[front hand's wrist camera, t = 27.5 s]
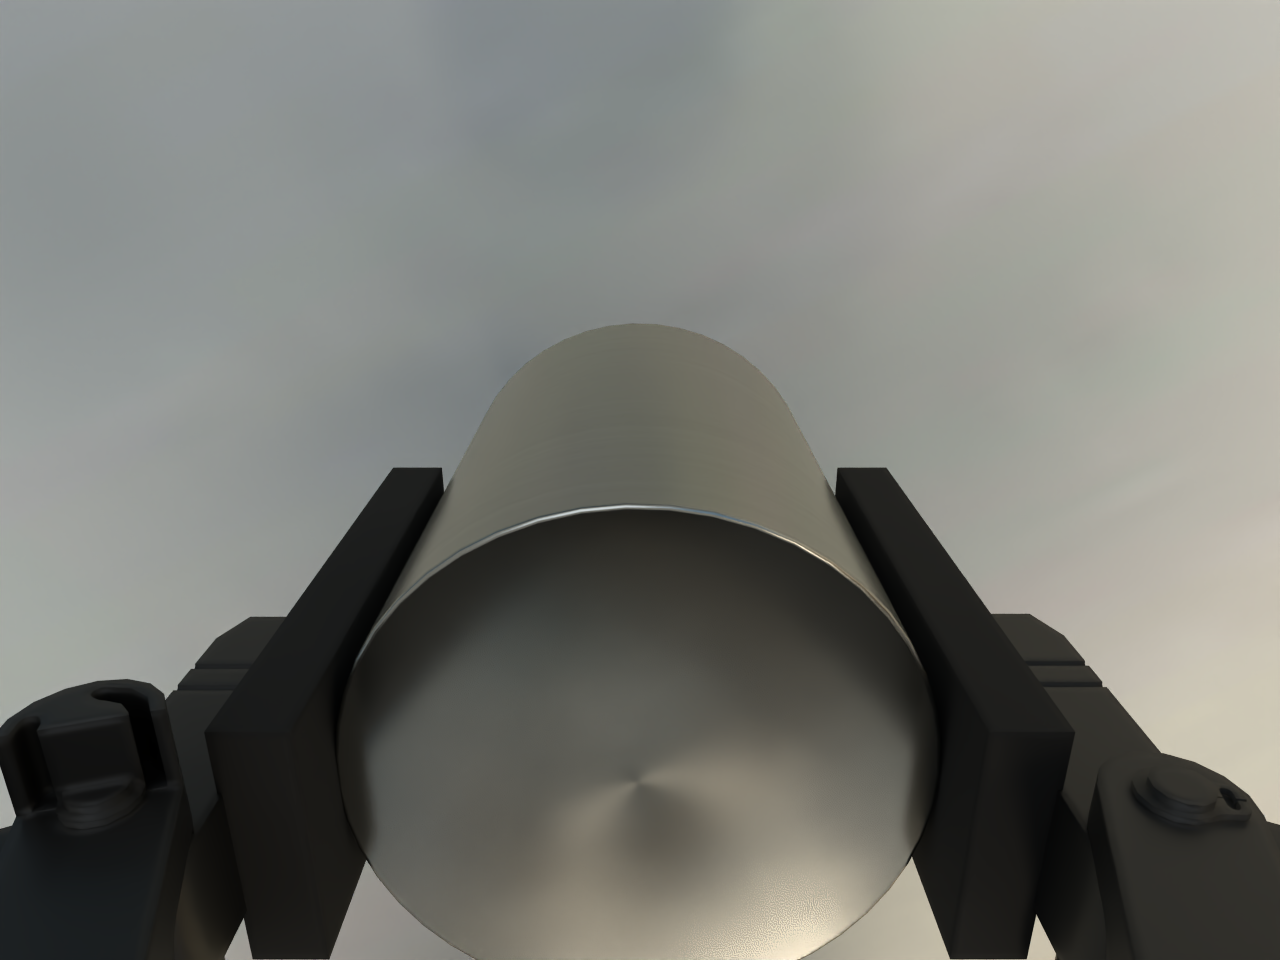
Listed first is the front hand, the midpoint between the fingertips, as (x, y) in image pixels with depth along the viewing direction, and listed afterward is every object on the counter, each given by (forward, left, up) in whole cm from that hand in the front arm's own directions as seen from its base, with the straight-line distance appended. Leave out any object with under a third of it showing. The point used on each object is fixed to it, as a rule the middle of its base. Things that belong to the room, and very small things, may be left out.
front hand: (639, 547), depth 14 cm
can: (0, 0, -2) cm, 2 cm away
